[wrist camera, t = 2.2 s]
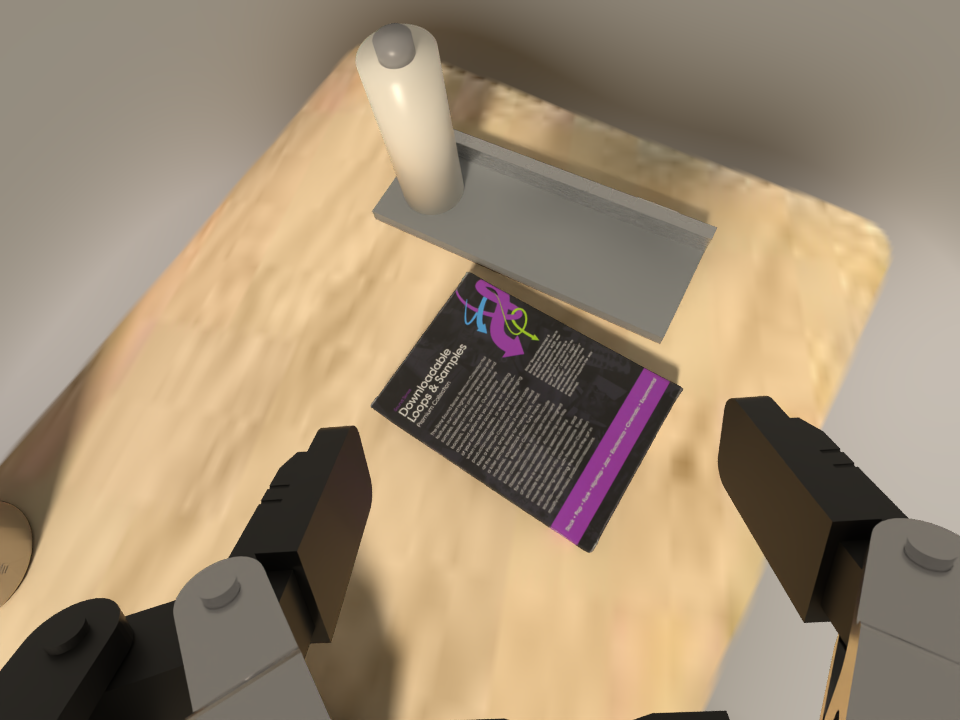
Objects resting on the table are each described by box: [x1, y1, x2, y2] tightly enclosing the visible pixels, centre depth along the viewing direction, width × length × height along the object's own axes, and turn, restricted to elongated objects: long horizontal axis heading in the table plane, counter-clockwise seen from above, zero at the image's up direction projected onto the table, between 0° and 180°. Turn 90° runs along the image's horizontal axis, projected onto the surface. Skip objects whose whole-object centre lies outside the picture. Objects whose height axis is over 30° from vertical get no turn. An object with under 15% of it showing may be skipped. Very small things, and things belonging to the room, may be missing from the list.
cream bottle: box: [356, 23, 464, 215], centre depth 40 cm, size 6×6×15 cm
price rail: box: [453, 129, 717, 252], centre depth 45 cm, size 28×1×2 cm, turn 61°
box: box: [371, 272, 683, 553], centre depth 40 cm, size 14×4×20 cm
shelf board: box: [372, 158, 704, 344], centre depth 46 cm, size 28×10×1 cm, turn 61°
